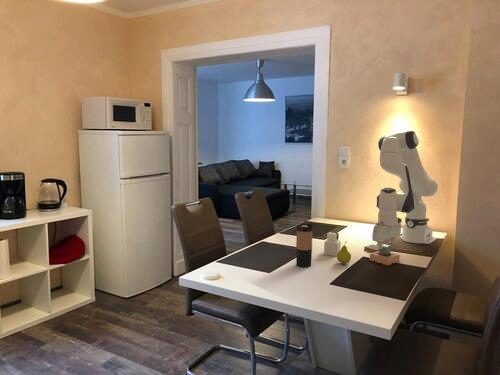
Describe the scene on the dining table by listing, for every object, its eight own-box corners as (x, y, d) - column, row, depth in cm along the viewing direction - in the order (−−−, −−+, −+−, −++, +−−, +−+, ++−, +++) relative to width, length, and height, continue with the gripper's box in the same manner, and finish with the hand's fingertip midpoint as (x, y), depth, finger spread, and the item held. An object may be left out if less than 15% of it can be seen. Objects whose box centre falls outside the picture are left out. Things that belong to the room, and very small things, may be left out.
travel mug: (311, 268, 193) (312, 227, 191) (295, 267, 195) (296, 226, 192) (311, 263, 201) (312, 223, 198) (296, 262, 202) (297, 223, 199)
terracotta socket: (381, 256, 213) (381, 250, 212) (399, 261, 205) (399, 254, 204) (369, 260, 206) (369, 253, 206) (387, 265, 198) (388, 258, 198)
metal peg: (383, 259, 208) (383, 244, 207) (389, 261, 205) (390, 245, 204) (378, 260, 206) (379, 245, 205) (385, 262, 203) (386, 247, 202)
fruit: (333, 262, 203) (334, 238, 201) (345, 260, 205) (346, 237, 204) (341, 266, 197) (342, 242, 195) (353, 264, 199) (354, 241, 197)
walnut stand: (372, 247, 229) (372, 244, 229) (385, 251, 223) (385, 247, 223) (364, 250, 224) (364, 246, 224) (376, 253, 218) (376, 249, 218)
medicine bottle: (327, 251, 221) (328, 230, 220) (340, 253, 218) (341, 231, 217) (323, 254, 215) (324, 232, 214) (337, 256, 212) (337, 234, 210)
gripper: (380, 224, 194) (379, 252, 196) (403, 218, 207) (402, 245, 208) (369, 222, 199) (368, 249, 201) (392, 216, 211) (391, 242, 213)
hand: (386, 247), depth 205 cm, fingers open, 8 cm apart
